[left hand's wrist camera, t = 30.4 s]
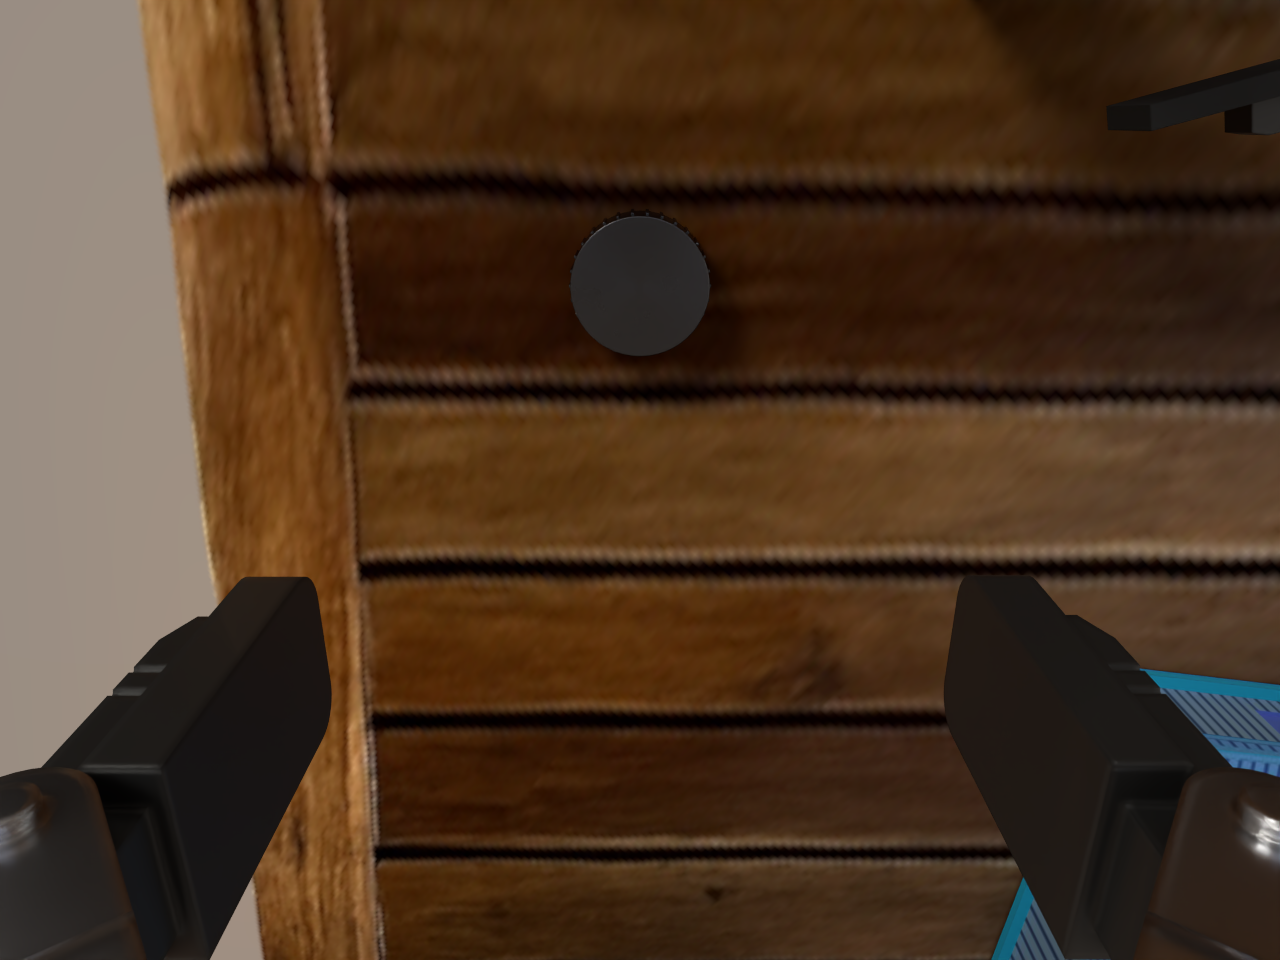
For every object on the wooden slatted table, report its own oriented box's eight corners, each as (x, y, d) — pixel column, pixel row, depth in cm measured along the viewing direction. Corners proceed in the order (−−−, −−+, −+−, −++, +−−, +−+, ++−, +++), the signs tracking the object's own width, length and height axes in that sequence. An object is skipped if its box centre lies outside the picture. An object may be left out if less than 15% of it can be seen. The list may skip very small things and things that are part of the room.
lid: (665, 181, 35) (666, 185, 33) (731, 304, 37) (736, 314, 35) (546, 253, 36) (540, 261, 34) (616, 369, 38) (615, 383, 36)
